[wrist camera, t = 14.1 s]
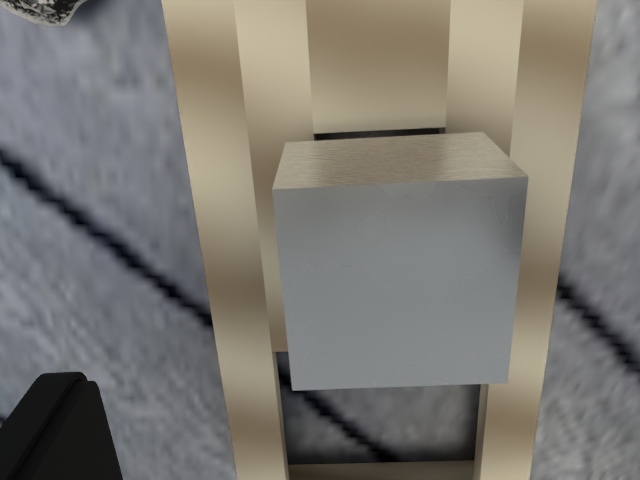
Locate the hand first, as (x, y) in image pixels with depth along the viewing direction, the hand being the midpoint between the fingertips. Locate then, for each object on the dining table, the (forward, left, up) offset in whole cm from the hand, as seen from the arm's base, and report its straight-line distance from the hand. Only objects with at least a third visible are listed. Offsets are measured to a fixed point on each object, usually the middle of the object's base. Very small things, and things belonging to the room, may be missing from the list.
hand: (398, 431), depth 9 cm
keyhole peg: (0, 0, -13) cm, 13 cm away
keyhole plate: (-5, -1, -13) cm, 14 cm away
